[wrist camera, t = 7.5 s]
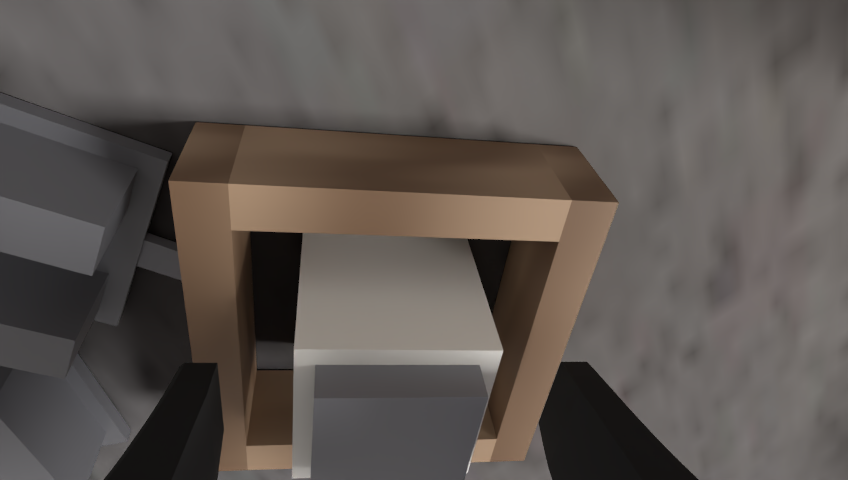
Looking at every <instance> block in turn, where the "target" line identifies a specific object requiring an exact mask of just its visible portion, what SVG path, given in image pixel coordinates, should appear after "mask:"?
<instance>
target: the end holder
mask: <svg viewBox="0 0 848 480" xmlns="http://www.w3.org/2000/svg"><path fill="white" fill-rule="evenodd" d="M168 183H169V190H170V197H171V205H172V212H173V220H174V227H175V235H176V242H177V250H178V257H179V265H180V272H181V279H182V287H183V294H184V302H185V309H186V317H187V324H188V332H189V339H190V346H191V354H192V361H193V363H218V373H219V383H220V393H221V403H222V413H223V423H224V434H223V441H222V449H221V457H220V464H219V471H234V470H263V469H292V443H293V374H294V370H257V364H256V343H255V321H254V300H253V279H252V257H251V236H250V231H264V232H293V233H322V234H350V235H379V236H408V237H436V238H465V239H494V240H511V244H510V248H509V252H508V256H507V260H506V264H505V268H504V271H503V275H502V279H501V283H500V287H499V291H498V295H497V298H496V302H495V306H494V310H493V314H492V317H493V320H494V323H495V326H496V329H497V332H498V335H499V339H500V342H501V345H502V348H503V354H502V357H501V361H500V364H499V367H498V371H497V374H496V377H495V381H494V384H493V388H492V391H491V394H490V398H489V401H488V405H487V408H486V411H485V415H484V418H483V421H482V425H481V428H480V432H479V435H478V438H477V442H476V445H475V448H474V452H473V455H472V459H471V462H494V461H523V460H524V459H525V456H526V453H527V451H528V448H529V445H530V443H531V440H532V437H533V434H534V432H535V429H536V426H537V424H538V421H539V418H540V415H541V413H542V410H543V407H544V405H545V402H546V399H547V397H548V394H549V391H550V388H551V386H552V383H553V380H554V378H555V375H556V372H557V369H558V367H559V364H560V361H561V359H562V356H563V353H564V350H565V348H566V345H567V342H568V340H569V337H570V334H571V331H572V329H573V326H574V323H575V321H576V318H577V315H578V312H579V310H580V307H581V304H582V302H583V299H584V296H585V293H586V291H587V288H588V285H589V283H590V280H591V277H592V274H593V272H594V269H595V266H596V264H597V261H598V258H599V255H600V253H601V250H602V247H603V245H604V242H605V239H606V236H607V234H608V231H609V228H610V226H611V223H612V220H613V217H614V215H615V212H616V209H617V207H618V204H619V202H618V201H617V199H616V198H615V197H614V195H613V194H612V193H611V191H610V190H609V189H608V187H607V186H606V185H605V183H604V182H603V181H602V180H601V178H600V177H599V176H598V174H597V173H596V172H595V170H594V169H593V168H592V166H591V165H590V164H589V162H588V161H587V160H586V158H585V157H584V156H583V154H582V153H581V152H580V151H579V149H578V148H577V147H569V146H553V145H538V144H523V143H508V142H492V141H477V140H462V139H447V138H431V137H416V136H401V135H386V134H370V133H355V132H340V131H324V130H309V129H294V128H279V127H263V126H248V125H233V124H218V123H202V122H195V125H194V127H193V129H192V131H191V133H190V135H189V137H188V140H187V142H186V144H185V146H184V148H183V150H182V152H181V155H180V157H179V159H178V161H177V163H176V165H175V167H174V170H173V172H172V174H171V176H170V178H169V180H168Z"/></svg>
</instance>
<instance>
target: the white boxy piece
mask: <svg viewBox="0 0 848 480" xmlns="http://www.w3.org/2000/svg"><path fill="white" fill-rule="evenodd" d="M502 354H503V348H502V345H501V342H500V339H499V335H498V332H497V329H496V326H495V323H494V320H493V317H492V314H491V311H490V308H489V304H488V301H487V298H486V295H485V292H484V289H483V286H482V283H481V280H480V277H479V274H478V270H477V267H476V264H475V261H474V258H473V255H472V252H471V249H470V246H469V243H468V239H465V238H436V237H408V236H379V235H350V234H322V233H303V238H302V251H301V264H300V276H299V289H298V302H297V315H296V328H295V341H294V374H293V443H292V478H310V480H464V478H465V475H466V473H467V472H468V469H469V465H470V462H471V459H472V455H473V452H474V448H475V445H476V442H477V438H478V435H479V432H480V428H481V425H482V421H483V418H484V415H485V411H486V408H487V405H488V401H489V398H490V394H491V391H492V388H493V384H494V381H495V377H496V374H497V371H498V367H499V364H500V361H501V357H502Z"/></svg>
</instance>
